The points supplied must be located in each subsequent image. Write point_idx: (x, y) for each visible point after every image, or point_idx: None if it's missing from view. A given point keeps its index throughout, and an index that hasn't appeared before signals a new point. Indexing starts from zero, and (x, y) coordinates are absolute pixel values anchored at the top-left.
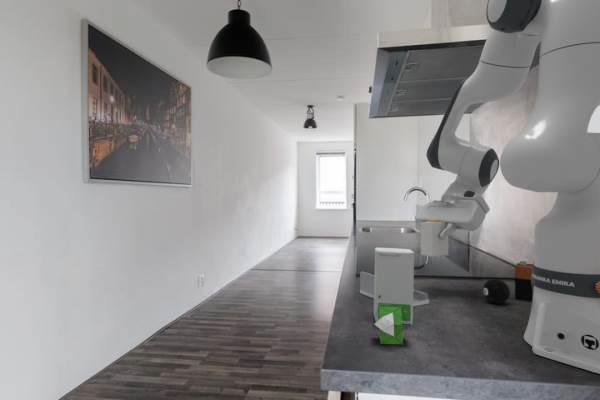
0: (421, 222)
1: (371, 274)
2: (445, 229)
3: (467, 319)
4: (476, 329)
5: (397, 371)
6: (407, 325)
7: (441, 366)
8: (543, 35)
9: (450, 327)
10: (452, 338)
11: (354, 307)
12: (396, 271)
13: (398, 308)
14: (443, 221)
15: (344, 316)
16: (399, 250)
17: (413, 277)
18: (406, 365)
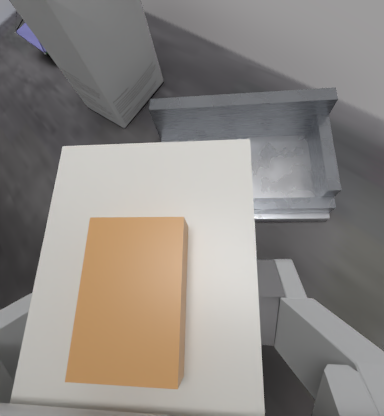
0: (239, 141)
1: (285, 98)
2: (24, 306)
3: (44, 211)
4: (9, 182)
5: (10, 18)
6: (31, 41)
7: None
8: None
9: (42, 151)
10: (16, 121)
11: (214, 71)
12: None
13: None
14: (24, 405)
15: (179, 38)
16: None
17: (32, 30)
18: (11, 31)
